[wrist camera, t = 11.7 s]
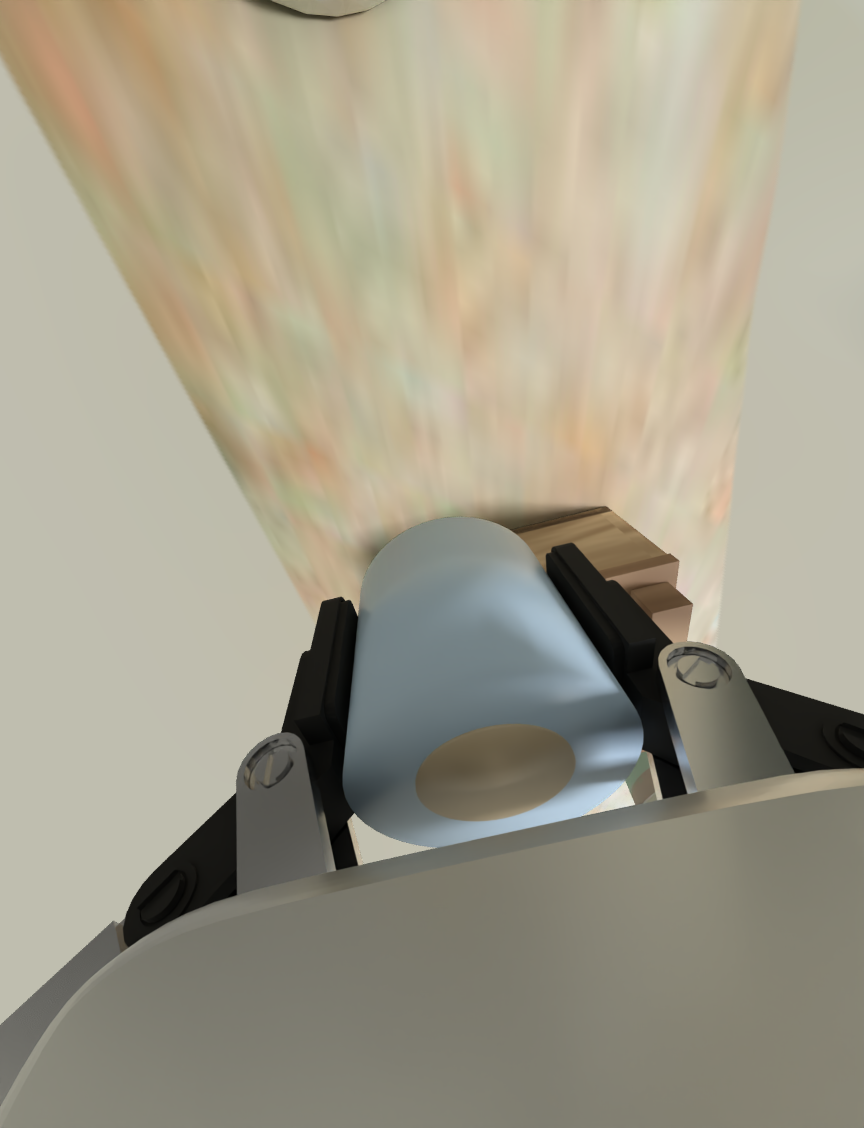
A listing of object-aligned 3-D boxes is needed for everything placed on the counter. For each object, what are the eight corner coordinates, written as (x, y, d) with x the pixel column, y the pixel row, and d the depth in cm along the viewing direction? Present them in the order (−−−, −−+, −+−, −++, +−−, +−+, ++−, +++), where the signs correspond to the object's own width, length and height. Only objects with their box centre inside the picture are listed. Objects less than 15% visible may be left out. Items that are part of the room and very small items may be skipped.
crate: (466, 541, 27) (489, 599, 21) (606, 506, 27) (668, 555, 21) (494, 675, 35) (516, 747, 29) (604, 649, 34) (650, 716, 28)
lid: (488, 597, 21) (501, 630, 19) (669, 553, 21) (706, 582, 18) (516, 750, 29) (528, 788, 26) (650, 719, 28) (675, 755, 26)
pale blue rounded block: (333, 543, 11) (289, 719, 6) (535, 495, 10) (661, 634, 6) (388, 681, 13) (389, 872, 9) (546, 644, 13) (634, 819, 9)
